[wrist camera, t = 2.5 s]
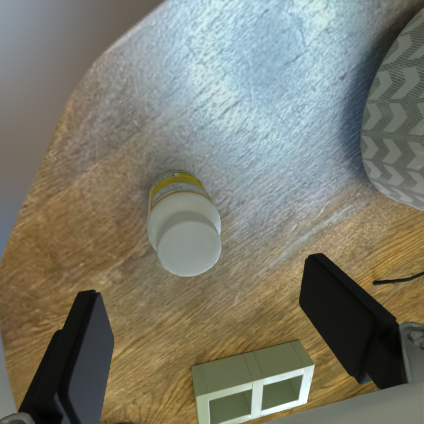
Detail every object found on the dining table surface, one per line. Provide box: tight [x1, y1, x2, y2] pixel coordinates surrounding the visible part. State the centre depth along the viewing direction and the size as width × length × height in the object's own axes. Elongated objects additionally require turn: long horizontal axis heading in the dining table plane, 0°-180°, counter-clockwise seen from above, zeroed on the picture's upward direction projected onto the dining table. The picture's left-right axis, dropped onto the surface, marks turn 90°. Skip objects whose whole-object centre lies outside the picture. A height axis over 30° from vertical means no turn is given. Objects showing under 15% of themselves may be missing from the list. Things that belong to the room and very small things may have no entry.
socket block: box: [192, 340, 315, 424], centre depth 35 cm, size 17×9×4 cm, turn 92°
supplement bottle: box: [147, 170, 222, 276], centre depth 19 cm, size 5×5×10 cm
